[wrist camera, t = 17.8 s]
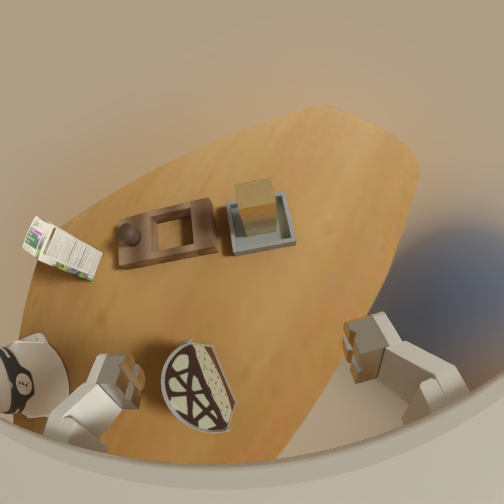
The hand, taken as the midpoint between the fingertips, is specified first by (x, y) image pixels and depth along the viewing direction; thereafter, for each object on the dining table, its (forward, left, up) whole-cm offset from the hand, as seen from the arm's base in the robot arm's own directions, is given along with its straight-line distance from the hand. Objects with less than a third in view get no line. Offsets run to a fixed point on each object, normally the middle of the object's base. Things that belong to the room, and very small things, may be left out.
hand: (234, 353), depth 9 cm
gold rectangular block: (+2, +16, -29) cm, 33 cm away
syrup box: (-30, +16, -30) cm, 45 cm away
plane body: (-13, +17, -29) cm, 37 cm away
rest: (+2, +16, -29) cm, 34 cm away
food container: (-10, -6, -30) cm, 32 cm away
